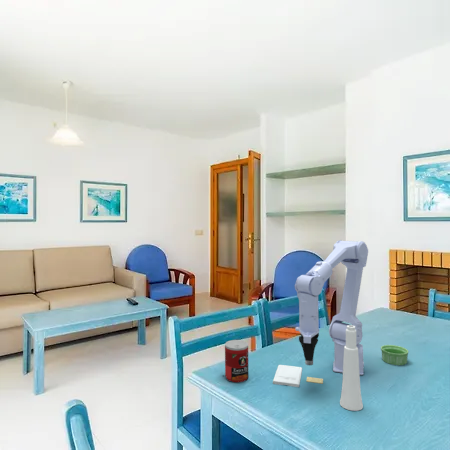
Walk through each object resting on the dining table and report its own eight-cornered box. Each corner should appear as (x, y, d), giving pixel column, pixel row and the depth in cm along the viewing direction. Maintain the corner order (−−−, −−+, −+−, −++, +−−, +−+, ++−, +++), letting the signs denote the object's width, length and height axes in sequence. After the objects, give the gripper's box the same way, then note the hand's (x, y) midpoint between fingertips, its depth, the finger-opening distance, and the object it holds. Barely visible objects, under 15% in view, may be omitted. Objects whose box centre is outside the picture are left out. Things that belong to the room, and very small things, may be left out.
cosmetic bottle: (342, 397, 99) (341, 321, 99) (364, 402, 96) (364, 324, 96) (337, 407, 94) (337, 327, 94) (361, 413, 91) (360, 330, 91)
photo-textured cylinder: (313, 362, 107) (313, 340, 106) (313, 365, 104) (312, 342, 104) (305, 361, 107) (305, 339, 107) (304, 364, 105) (304, 342, 105)
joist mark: (323, 379, 111) (323, 378, 111) (322, 383, 108) (322, 383, 108) (307, 377, 112) (307, 376, 112) (306, 381, 109) (306, 380, 109)
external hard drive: (302, 372, 118) (299, 389, 106) (278, 369, 120) (272, 385, 108) (302, 367, 118) (299, 383, 106) (278, 364, 120) (272, 380, 108)
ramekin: (411, 360, 125) (411, 348, 125) (404, 368, 118) (404, 356, 118) (385, 354, 131) (385, 342, 131) (377, 361, 124) (377, 349, 124)
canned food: (232, 385, 107) (232, 350, 107) (220, 374, 115) (220, 342, 114) (253, 379, 111) (253, 345, 111) (240, 370, 118) (240, 338, 118)
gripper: (298, 307, 114) (298, 348, 114) (292, 320, 100) (293, 366, 100) (320, 309, 112) (320, 350, 112) (317, 322, 98) (318, 369, 98)
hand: (309, 358), depth 106 cm, fingers closed on photo-textured cylinder, 2 cm apart
